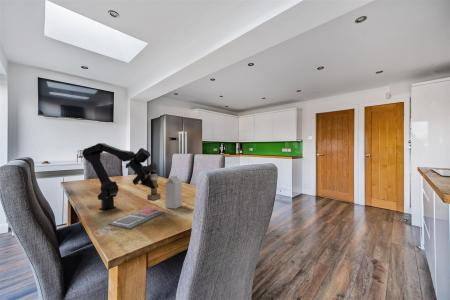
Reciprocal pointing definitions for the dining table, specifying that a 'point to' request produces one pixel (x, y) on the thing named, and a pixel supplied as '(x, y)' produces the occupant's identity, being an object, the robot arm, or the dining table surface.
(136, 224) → the stamping board
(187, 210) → the dining table surface
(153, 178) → the walnut stamp
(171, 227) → the dining table surface
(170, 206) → the milk carton
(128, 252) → the dining table surface
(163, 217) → the dining table surface
